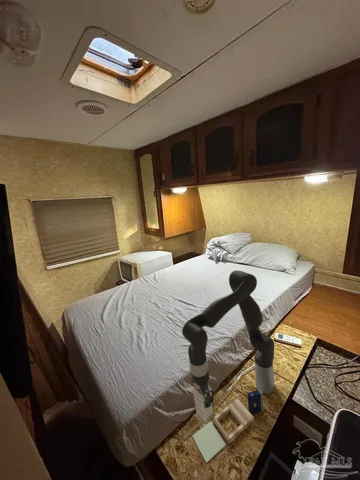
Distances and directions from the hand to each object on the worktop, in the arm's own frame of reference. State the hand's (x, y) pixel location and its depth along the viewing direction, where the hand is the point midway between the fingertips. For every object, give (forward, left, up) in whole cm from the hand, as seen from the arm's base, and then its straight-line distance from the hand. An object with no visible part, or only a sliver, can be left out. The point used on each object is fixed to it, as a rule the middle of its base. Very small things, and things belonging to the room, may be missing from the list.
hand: (203, 398), depth 84 cm
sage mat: (0, 0, -25) cm, 25 cm away
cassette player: (-27, +4, -25) cm, 37 cm away
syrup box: (0, 0, -8) cm, 8 cm away
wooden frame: (-15, +1, -25) cm, 29 cm away
